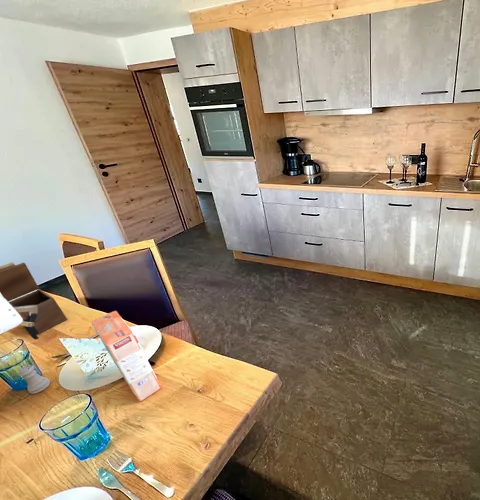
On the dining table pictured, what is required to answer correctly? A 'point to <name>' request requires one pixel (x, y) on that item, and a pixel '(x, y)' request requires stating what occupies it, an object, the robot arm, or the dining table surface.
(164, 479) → the dining table surface
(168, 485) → the dining table surface
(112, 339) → the cracker box
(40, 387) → the rook chess piece
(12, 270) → the lid
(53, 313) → the chest
